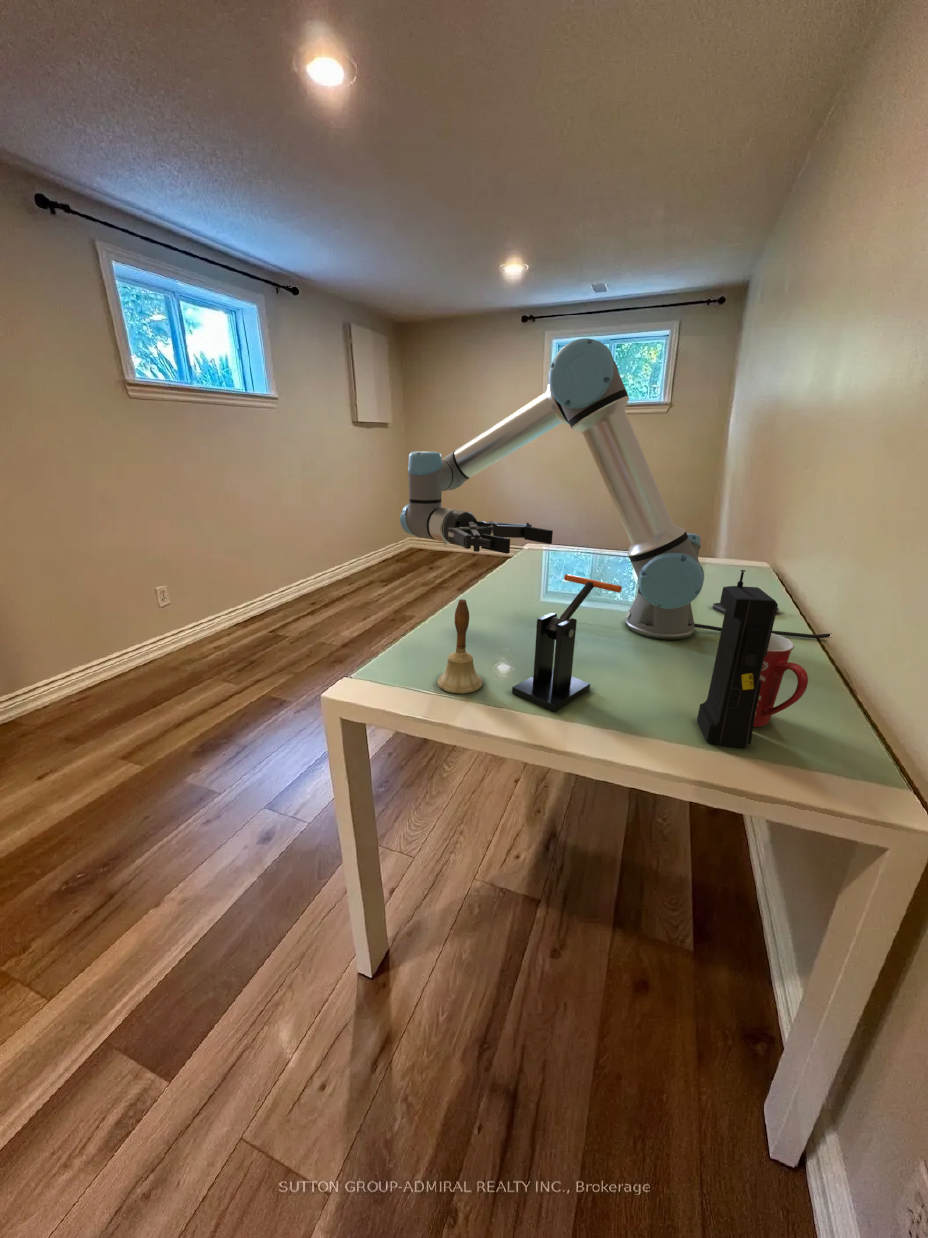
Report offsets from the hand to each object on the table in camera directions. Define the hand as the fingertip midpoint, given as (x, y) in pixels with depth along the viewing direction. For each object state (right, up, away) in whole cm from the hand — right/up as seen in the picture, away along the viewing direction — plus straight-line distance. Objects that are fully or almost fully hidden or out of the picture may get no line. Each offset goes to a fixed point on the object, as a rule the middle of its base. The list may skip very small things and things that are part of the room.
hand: (531, 541), depth 95 cm
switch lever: (+6, -14, -9) cm, 18 cm away
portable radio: (+26, -33, -21) cm, 47 cm away
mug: (+33, -32, -16) cm, 49 cm away
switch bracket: (+2, -28, -8) cm, 29 cm away
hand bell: (-14, -27, -5) cm, 31 cm away
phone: (+62, -13, +35) cm, 72 cm away
